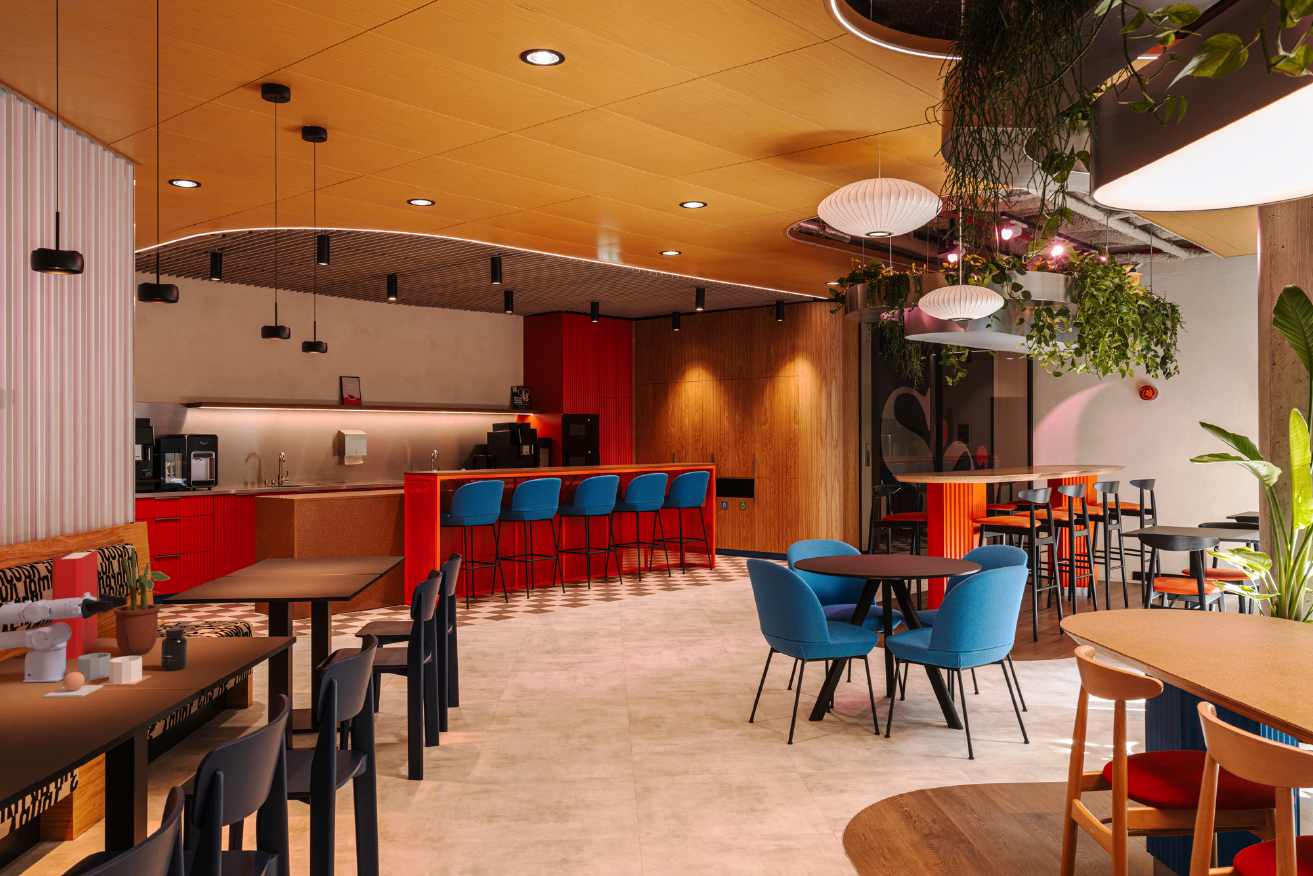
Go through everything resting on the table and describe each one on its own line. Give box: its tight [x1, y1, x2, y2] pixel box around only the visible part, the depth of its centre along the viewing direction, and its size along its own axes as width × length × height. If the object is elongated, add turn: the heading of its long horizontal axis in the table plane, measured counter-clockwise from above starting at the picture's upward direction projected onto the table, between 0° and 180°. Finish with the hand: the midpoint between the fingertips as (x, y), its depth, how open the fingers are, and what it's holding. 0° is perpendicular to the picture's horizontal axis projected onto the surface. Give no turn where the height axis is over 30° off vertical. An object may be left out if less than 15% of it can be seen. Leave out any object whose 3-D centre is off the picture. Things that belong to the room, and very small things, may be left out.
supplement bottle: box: [160, 627, 188, 672], centre depth 267 cm, size 7×7×12 cm
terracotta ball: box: [62, 671, 86, 691], centre depth 241 cm, size 5×5×5 cm
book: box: [51, 549, 98, 660], centre depth 292 cm, size 27×8×32 cm, turn 23°
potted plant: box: [112, 546, 171, 656], centre depth 290 cm, size 17×16×35 cm
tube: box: [99, 655, 152, 687], centre depth 252 cm, size 10×10×6 cm
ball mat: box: [43, 684, 104, 699], centre depth 241 cm, size 10×10×1 cm
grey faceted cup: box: [77, 652, 111, 681], centre depth 258 cm, size 8×8×6 cm
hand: (119, 603), depth 256 cm, fingers open, 7 cm apart
